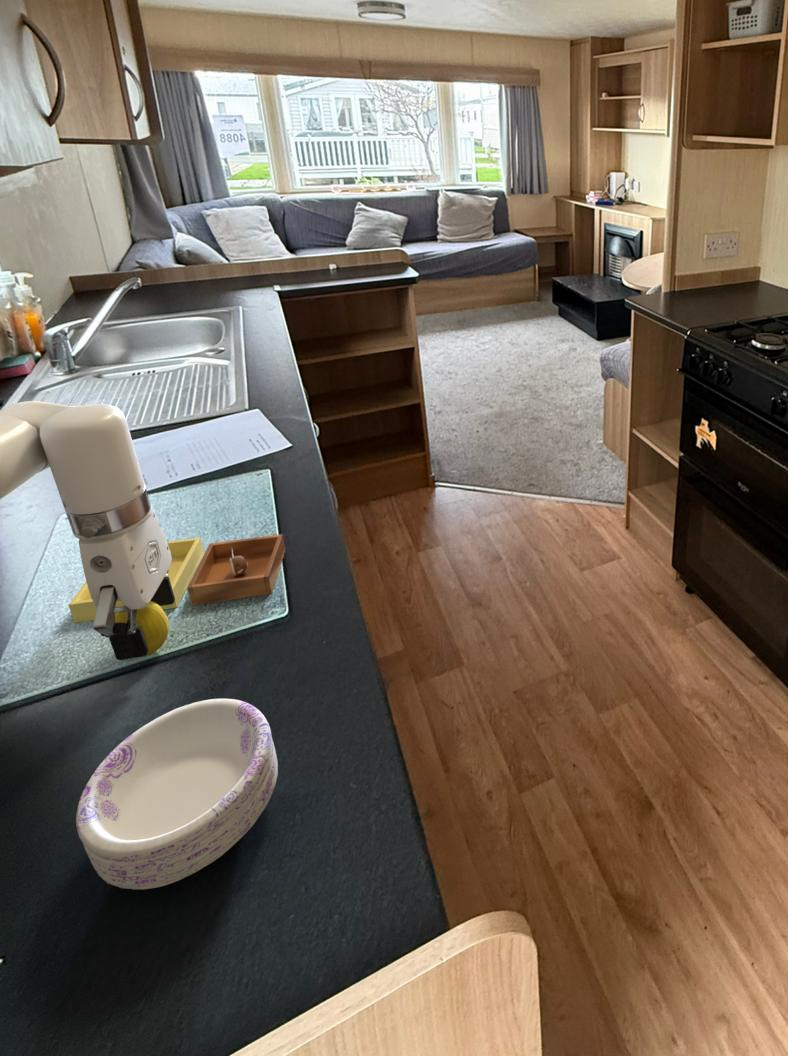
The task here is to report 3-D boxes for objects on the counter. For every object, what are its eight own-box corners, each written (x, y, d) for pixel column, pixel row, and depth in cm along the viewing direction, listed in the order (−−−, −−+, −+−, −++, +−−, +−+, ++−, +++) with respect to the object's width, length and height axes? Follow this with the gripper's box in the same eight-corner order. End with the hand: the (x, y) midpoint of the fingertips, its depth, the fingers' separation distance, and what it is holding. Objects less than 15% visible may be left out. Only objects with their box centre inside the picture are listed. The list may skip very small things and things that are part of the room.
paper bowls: (99, 803, 64) (76, 745, 61) (268, 726, 72) (255, 671, 69) (97, 957, 52) (69, 894, 49) (299, 844, 60) (284, 784, 57)
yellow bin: (74, 623, 86) (68, 605, 85) (114, 565, 97) (109, 548, 96) (177, 607, 89) (172, 590, 88) (204, 553, 100) (200, 537, 99)
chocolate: (250, 576, 94) (244, 554, 93) (232, 581, 93) (227, 559, 92) (248, 565, 97) (243, 542, 95) (232, 570, 96) (226, 547, 94)
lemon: (158, 632, 85) (142, 582, 82) (184, 646, 83) (170, 596, 80) (112, 661, 80) (95, 610, 77) (140, 678, 78) (122, 625, 75)
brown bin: (191, 605, 89) (186, 588, 88) (213, 559, 99) (209, 543, 98) (271, 593, 92) (268, 576, 91) (285, 550, 101) (282, 533, 100)
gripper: (114, 551, 67) (155, 678, 74) (173, 468, 83) (203, 579, 89) (30, 562, 66) (79, 691, 72) (106, 476, 81) (141, 588, 88)
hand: (147, 628), depth 81 cm, fingers open, 8 cm apart
